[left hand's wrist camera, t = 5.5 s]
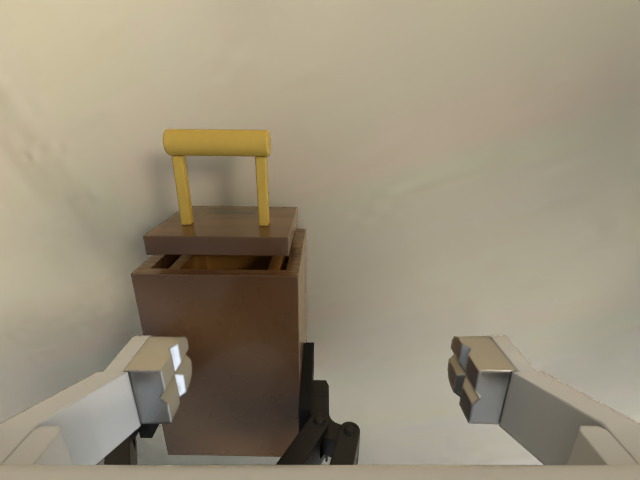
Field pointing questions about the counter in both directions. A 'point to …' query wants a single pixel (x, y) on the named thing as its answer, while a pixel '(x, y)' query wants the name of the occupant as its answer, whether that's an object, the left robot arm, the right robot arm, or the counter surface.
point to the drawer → (223, 210)
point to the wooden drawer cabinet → (231, 351)
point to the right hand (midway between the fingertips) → (245, 355)
